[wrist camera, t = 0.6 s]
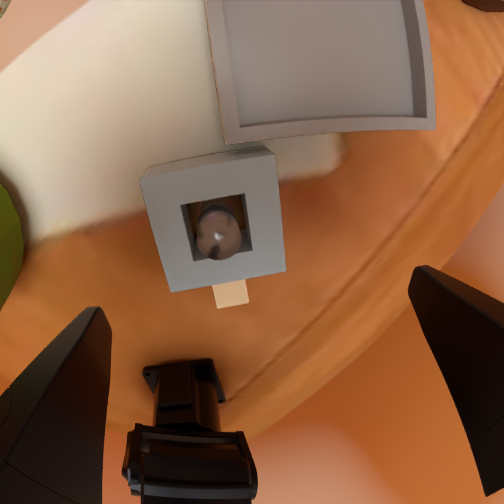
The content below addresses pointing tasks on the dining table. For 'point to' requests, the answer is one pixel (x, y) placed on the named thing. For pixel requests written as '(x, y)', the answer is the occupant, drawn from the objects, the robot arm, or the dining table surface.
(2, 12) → the pill bottle
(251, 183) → the ring
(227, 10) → the tray
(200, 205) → the brown rounded cylinder
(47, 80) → the dining table surface
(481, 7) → the beer bottle
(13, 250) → the apple
